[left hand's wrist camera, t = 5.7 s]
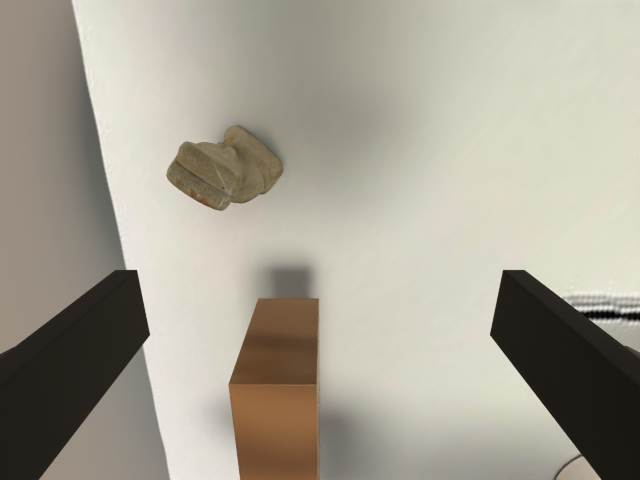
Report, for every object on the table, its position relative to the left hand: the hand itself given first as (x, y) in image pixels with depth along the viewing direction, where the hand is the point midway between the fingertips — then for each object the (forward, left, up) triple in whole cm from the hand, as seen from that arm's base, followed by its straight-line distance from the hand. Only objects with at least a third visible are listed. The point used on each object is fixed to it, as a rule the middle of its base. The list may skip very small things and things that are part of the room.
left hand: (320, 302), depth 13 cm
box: (+25, -3, -20) cm, 32 cm away
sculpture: (-2, -8, -28) cm, 29 cm away
